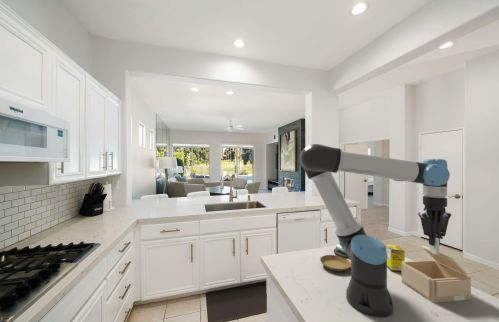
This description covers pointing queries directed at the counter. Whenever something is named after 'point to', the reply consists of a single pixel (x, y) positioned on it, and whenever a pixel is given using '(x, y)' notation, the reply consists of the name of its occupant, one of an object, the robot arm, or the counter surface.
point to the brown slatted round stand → (340, 251)
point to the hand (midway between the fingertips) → (434, 253)
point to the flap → (445, 260)
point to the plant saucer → (335, 263)
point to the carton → (436, 281)
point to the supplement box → (395, 257)
